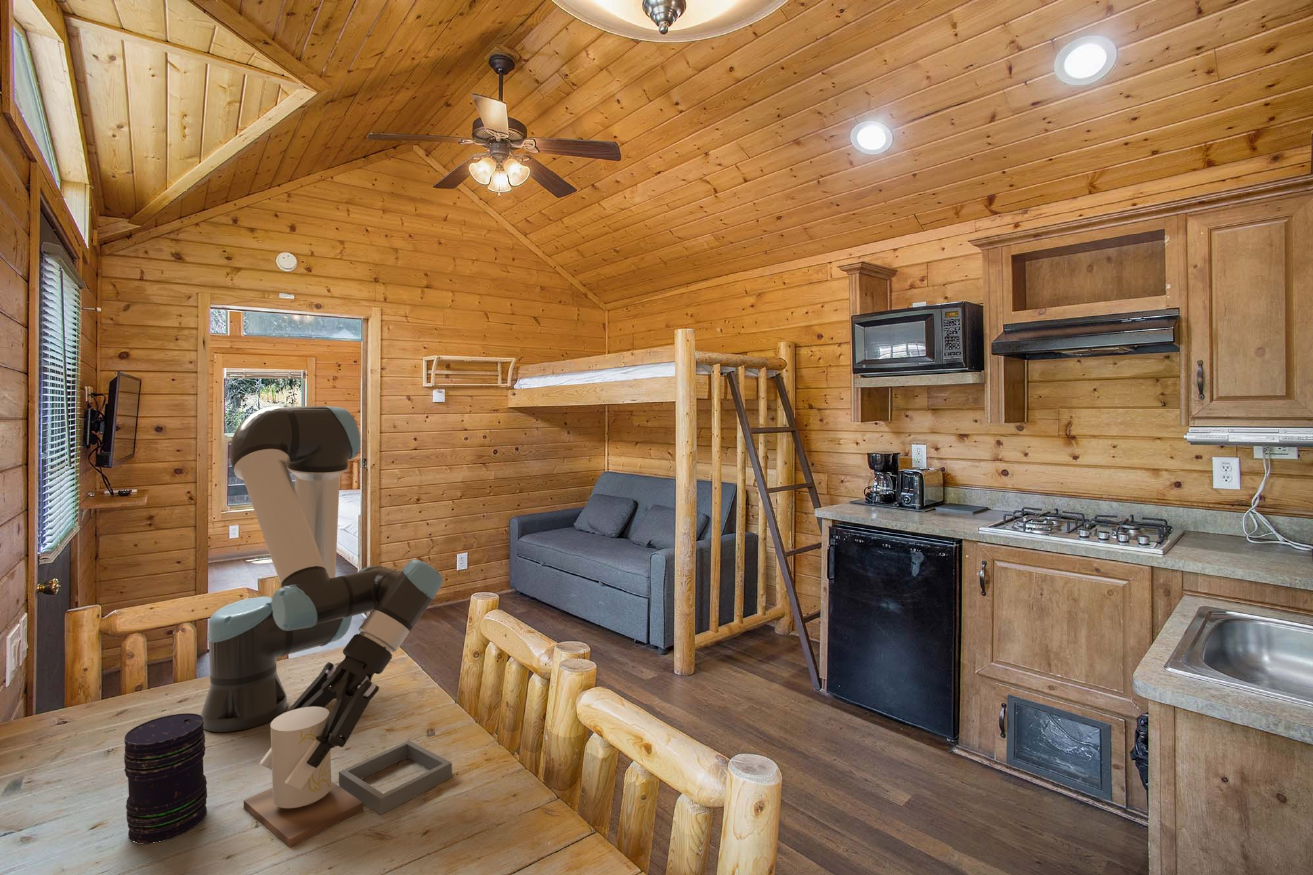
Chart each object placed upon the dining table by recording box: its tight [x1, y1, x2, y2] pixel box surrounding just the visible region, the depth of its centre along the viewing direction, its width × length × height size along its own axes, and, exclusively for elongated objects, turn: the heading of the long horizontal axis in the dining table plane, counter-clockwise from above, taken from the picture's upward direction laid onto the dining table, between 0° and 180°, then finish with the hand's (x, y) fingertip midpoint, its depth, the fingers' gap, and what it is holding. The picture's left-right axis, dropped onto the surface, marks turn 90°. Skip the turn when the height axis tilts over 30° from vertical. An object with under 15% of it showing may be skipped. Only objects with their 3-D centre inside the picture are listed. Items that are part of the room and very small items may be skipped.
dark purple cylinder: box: [123, 712, 208, 844], centre depth 99 cm, size 10×10×15 cm
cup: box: [270, 707, 332, 808], centre depth 102 cm, size 8×8×12 cm
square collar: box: [338, 739, 453, 815], centre depth 110 cm, size 13×13×2 cm
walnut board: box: [243, 780, 364, 848], centre depth 103 cm, size 16×11×1 cm
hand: (279, 776), depth 100 cm, fingers closed on cup, 8 cm apart
